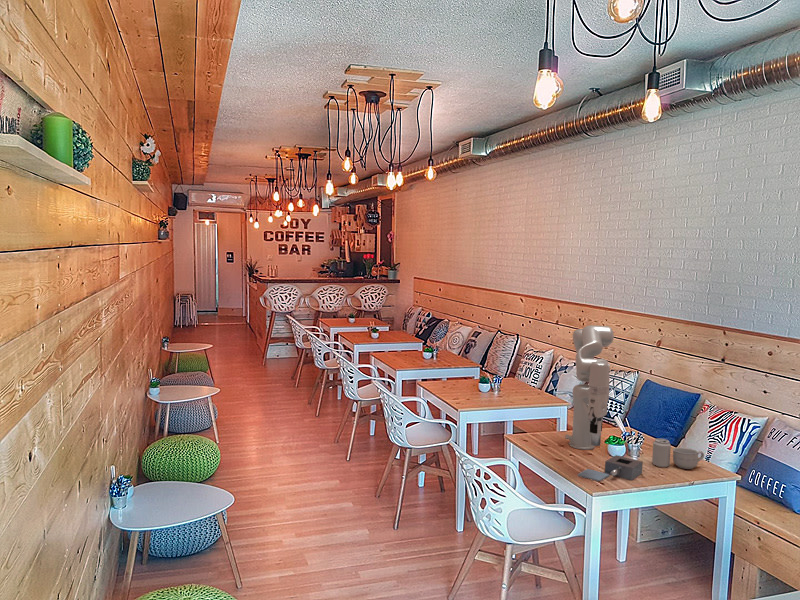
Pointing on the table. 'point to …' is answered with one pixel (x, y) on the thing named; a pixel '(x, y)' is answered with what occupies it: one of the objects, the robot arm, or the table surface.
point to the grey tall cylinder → (597, 437)
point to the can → (661, 453)
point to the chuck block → (623, 467)
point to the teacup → (686, 457)
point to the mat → (593, 475)
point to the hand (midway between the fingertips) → (595, 431)
